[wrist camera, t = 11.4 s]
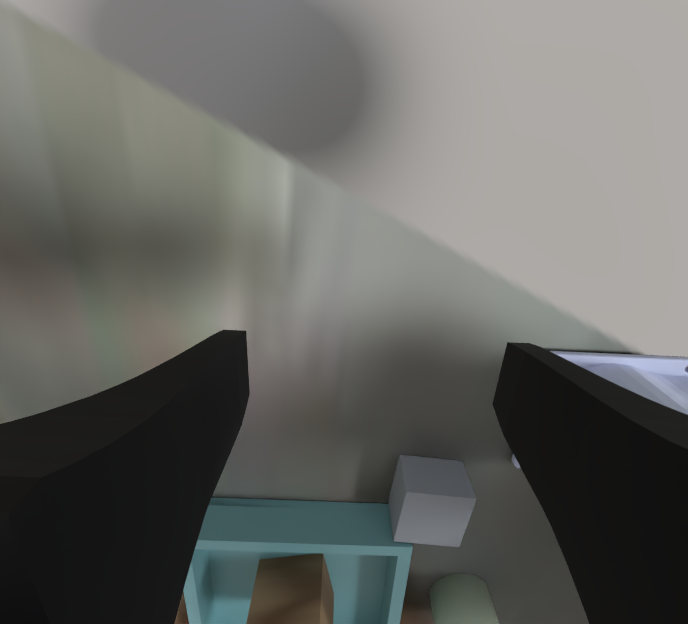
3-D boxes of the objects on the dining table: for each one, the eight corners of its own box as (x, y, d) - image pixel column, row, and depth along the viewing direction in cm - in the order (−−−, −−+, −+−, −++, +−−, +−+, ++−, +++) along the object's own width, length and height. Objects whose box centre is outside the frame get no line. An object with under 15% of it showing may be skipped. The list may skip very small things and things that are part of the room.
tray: (405, 504, 26) (412, 547, 23) (386, 630, 31) (390, 677, 29) (192, 496, 26) (174, 539, 23) (210, 625, 31) (197, 672, 28)
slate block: (461, 459, 25) (476, 498, 22) (447, 505, 26) (459, 547, 23) (399, 452, 24) (406, 492, 22) (388, 499, 26) (393, 541, 23)
